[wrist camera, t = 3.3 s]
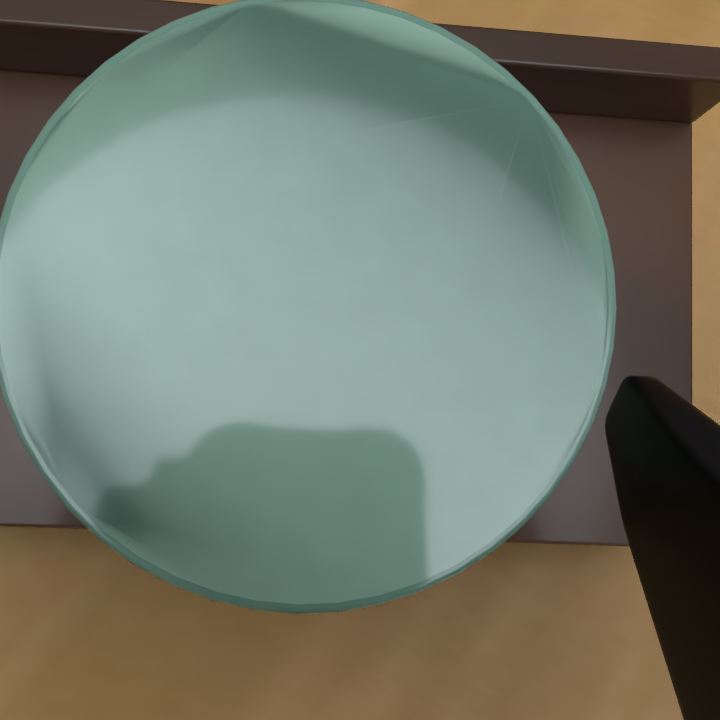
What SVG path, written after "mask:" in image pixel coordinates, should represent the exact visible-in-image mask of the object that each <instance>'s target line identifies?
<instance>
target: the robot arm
mask: <svg viewBox="0 0 720 720" xmlns="http://www.w3.org/2000/svg"><path fill="white" fill-rule="evenodd" d="M605 433H606V438H607V444H608V449H609V454H610V460H611V465H612V470H613V476H614V481H615V486H616V492H617V497H618V502H619V508H620V512H621V517H622V521H623V525H624V529H625V532H626V536H627V539H628V543H629V546H630V549H631V552H632V555H633V559H634V562H635V565H636V568H637V571H638V575H639V578H640V581H641V584H642V587H643V591H644V594H645V597H646V600H647V603H648V607H649V610H650V613H651V616H652V619H653V623H654V626H655V629H656V632H657V635H658V639H659V642H660V645H661V648H662V651H663V655H664V658H665V661H666V664H667V667H668V671H669V674H670V677H671V680H672V683H673V687H674V690H675V693H676V696H677V699H678V703H679V706H680V709H681V712H682V715H683V719H684V720H720V425H718V424H717V423H716V422H714V421H713V420H712V419H710V418H709V417H708V416H706V415H705V414H704V413H703V412H701V411H700V410H699V409H697V408H696V407H695V406H693V405H692V404H691V403H689V402H688V401H687V400H685V399H684V398H683V397H682V396H680V395H679V394H678V393H676V392H675V391H674V390H672V389H671V388H670V387H668V386H667V385H666V384H664V383H663V382H662V381H661V380H659V379H658V378H655V377H651V376H634V375H631V376H627V377H626V378H624V379H623V381H622V382H621V384H620V386H619V388H618V391H617V393H616V395H615V397H614V400H613V402H612V404H611V406H610V408H609V411H608V413H607V416H606V420H605Z"/></svg>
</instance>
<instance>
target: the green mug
mask: <svg viewBox="0 0 720 720" xmlns="http://www.w3.org/2000/svg"><path fill="white" fill-rule="evenodd" d="M616 309H617V308H616V290H615V272H614V265H613V259H612V254H611V249H610V243H609V238H608V232H607V229H606V226H605V222H604V219H603V216H602V213H601V210H600V207H599V204H598V201H597V197H596V194H595V192H594V190H593V188H592V186H591V184H590V181H589V179H588V177H587V175H586V173H585V171H584V168H583V166H582V164H581V162H580V160H579V158H578V156H577V155H576V153H575V152H574V150H573V149H572V147H571V145H570V144H569V142H568V141H567V139H566V137H565V136H564V134H563V133H562V131H561V129H560V128H559V126H558V125H557V124H556V123H555V121H554V120H553V119H552V118H551V116H550V115H549V114H548V113H547V111H546V110H545V109H544V108H543V107H542V105H541V104H540V103H539V102H538V100H537V99H536V98H535V97H534V96H533V95H532V94H531V93H530V92H529V91H528V90H527V89H526V88H525V87H524V86H523V85H522V84H521V83H520V82H519V81H518V80H517V79H516V78H514V77H513V76H512V75H511V74H510V73H509V72H508V71H507V70H506V69H505V68H503V67H502V66H501V65H499V64H498V63H497V62H495V61H494V60H493V59H491V58H490V57H489V56H487V55H486V54H485V53H483V52H482V51H481V50H479V49H478V48H477V47H475V46H474V45H472V44H470V43H468V42H467V41H465V40H463V39H461V38H460V37H458V36H456V35H454V34H453V33H451V32H449V31H447V30H445V29H444V28H442V27H440V26H438V25H435V24H433V23H430V22H428V21H426V20H423V19H421V18H418V17H416V16H414V15H411V14H409V13H406V12H404V11H400V10H396V9H393V8H389V7H386V6H382V5H378V4H375V3H371V2H368V1H362V0H240V1H236V2H231V3H227V4H223V5H218V6H214V7H210V8H207V9H204V10H202V11H199V12H196V13H193V14H191V15H188V16H185V17H182V18H180V19H177V20H174V21H172V22H170V23H168V24H166V25H164V26H162V27H160V28H158V29H156V30H155V31H153V32H151V33H149V34H147V35H145V36H143V37H141V38H139V39H137V40H136V41H134V42H133V43H131V44H130V45H128V46H127V47H126V48H124V49H123V50H121V51H120V52H118V53H117V54H116V55H114V56H113V57H111V58H110V59H108V60H107V61H105V62H104V63H103V64H102V65H101V66H100V67H99V68H97V69H96V70H95V71H94V72H93V73H92V74H91V75H90V76H89V77H87V78H86V79H85V80H84V81H83V82H82V83H81V84H80V85H79V86H78V87H76V88H75V89H74V90H73V92H72V93H71V94H70V95H69V96H68V97H67V99H66V100H65V101H64V102H63V103H62V105H61V106H60V107H59V108H58V109H57V110H56V112H55V113H54V114H53V115H52V116H51V118H50V119H49V120H48V121H47V123H46V124H45V126H44V127H43V129H42V131H41V132H40V134H39V135H38V137H37V138H36V140H35V142H34V143H33V145H32V146H31V148H30V149H29V151H28V152H27V154H26V156H25V158H24V160H23V162H22V164H21V167H20V169H19V171H18V173H17V175H16V177H15V179H14V182H13V184H12V186H11V188H10V190H9V192H8V195H7V199H6V202H5V205H4V208H3V212H2V215H1V218H0V386H1V390H2V394H3V398H4V401H5V403H6V405H7V408H8V410H9V413H10V415H11V418H12V420H13V423H14V425H15V427H16V430H17V432H18V435H19V437H20V439H21V441H22V443H23V444H24V446H25V448H26V450H27V451H28V453H29V455H30V457H31V458H32V460H33V462H34V463H35V465H36V467H37V469H38V470H39V472H40V474H41V475H42V477H43V478H44V479H45V481H46V482H47V483H48V484H49V486H50V487H51V488H52V489H53V491H54V492H55V493H56V495H57V496H58V497H59V498H60V500H61V501H62V502H63V504H64V505H65V506H66V507H67V509H68V510H69V511H70V512H71V513H72V514H73V515H74V516H75V517H76V518H78V519H79V520H80V521H81V522H82V523H83V524H84V525H85V526H86V527H87V528H88V529H89V530H90V531H91V532H92V533H93V534H94V535H95V536H96V537H97V538H98V539H99V540H101V541H102V542H103V543H105V544H106V545H107V546H109V547H110V548H112V549H113V550H114V551H116V552H117V553H118V554H120V555H121V556H122V557H124V558H125V559H127V560H128V561H129V562H131V563H132V564H133V565H135V566H137V567H139V568H141V569H142V570H144V571H146V572H148V573H150V574H152V575H154V576H155V577H157V578H159V579H161V580H163V581H165V582H166V583H168V584H170V585H172V586H175V587H177V588H180V589H183V590H185V591H188V592H191V593H193V594H196V595H199V596H201V597H204V598H207V599H209V600H212V601H216V602H221V603H225V604H229V605H234V606H238V607H242V608H247V609H251V610H258V611H268V612H279V613H290V614H310V613H333V612H343V611H349V610H355V609H360V608H366V607H371V606H377V605H382V604H385V603H388V602H391V601H394V600H397V599H401V598H404V597H407V596H410V595H413V594H416V593H419V592H422V591H424V590H426V589H428V588H430V587H432V586H435V585H437V584H439V583H441V582H443V581H445V580H447V579H449V578H451V577H453V576H456V575H458V574H460V573H461V572H463V571H464V570H466V569H467V568H469V567H470V566H472V565H473V564H475V563H476V562H478V561H479V560H481V559H483V558H484V557H486V556H487V555H489V554H490V553H492V552H493V551H495V550H496V549H497V548H498V547H499V546H500V545H501V544H503V543H504V542H505V541H506V540H507V539H508V538H510V537H511V536H512V535H513V534H514V533H515V532H517V531H518V530H519V529H520V528H521V527H522V526H524V525H525V524H526V523H527V521H528V520H529V519H530V518H531V517H532V516H533V515H534V514H535V512H536V511H537V510H538V509H539V508H540V507H541V506H542V505H543V503H544V502H545V501H546V500H547V499H548V498H549V497H550V496H551V494H552V493H553V492H554V490H555V489H556V487H557V486H558V484H559V483H560V481H561V480H562V478H563V477H564V475H565V474H566V472H567V471H568V470H569V468H570V467H571V465H572V464H573V462H574V461H575V459H576V457H577V455H578V453H579V451H580V449H581V447H582V445H583V443H584V441H585V439H586V437H587V435H588V433H589V431H590V429H591V427H592V425H593V422H594V419H595V416H596V413H597V410H598V407H599V404H600V402H601V399H602V396H603V393H604V390H605V387H606V382H607V378H608V373H609V368H610V363H611V358H612V353H613V348H614V336H615V322H616Z"/></svg>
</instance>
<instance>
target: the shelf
mask: <svg viewBox="0 0 720 720" xmlns="http://www.w3.org/2000/svg"><path fill="white" fill-rule="evenodd" d="M214 6H218V5H211V4H200V3H188V2H176V1H164V0H0V218H1V215H2V212H3V208H4V205H5V202H6V199H7V195H8V192H9V190H10V188H11V186H12V184H13V182H14V179H15V177H16V175H17V173H18V171H19V169H20V167H21V164H22V162H23V160H24V158H25V156H26V154H27V152H28V151H29V149H30V148H31V146H32V145H33V143H34V142H35V140H36V138H37V137H38V135H39V134H40V132H41V131H42V129H43V127H44V126H45V124H46V123H47V121H48V120H49V119H50V118H51V116H52V115H53V114H54V113H55V112H56V110H57V109H58V108H59V107H60V106H61V105H62V103H63V102H64V101H65V100H66V99H67V97H68V96H69V95H70V94H71V93H72V92H73V90H74V89H75V88H76V87H78V86H79V85H80V84H81V83H82V82H83V81H84V80H85V79H86V78H87V77H89V76H90V75H91V74H92V73H93V72H94V71H95V70H96V69H97V68H99V67H100V66H101V65H102V64H103V63H104V62H105V61H107V60H108V59H110V58H111V57H113V56H114V55H116V54H117V53H118V52H120V51H121V50H123V49H124V48H126V47H127V46H128V45H130V44H131V43H133V42H134V41H136V40H137V39H139V38H141V37H143V36H145V35H147V34H149V33H151V32H153V31H155V30H156V29H158V28H160V27H162V26H164V25H166V24H168V23H170V22H172V21H174V20H177V19H180V18H182V17H185V16H188V15H191V14H193V13H196V12H199V11H202V10H204V9H207V8H210V7H214ZM433 24H435V25H438V26H440V27H442V28H444V29H445V30H447V31H449V32H451V33H453V34H454V35H456V36H458V37H460V38H461V39H463V40H465V41H467V42H468V43H470V44H472V45H474V46H475V47H477V48H478V49H479V50H481V51H482V52H483V53H485V54H486V55H487V56H489V57H490V58H491V59H493V60H494V61H495V62H497V63H498V64H499V65H501V66H502V67H503V68H505V69H506V70H507V71H508V72H509V73H510V74H511V75H512V76H513V77H514V78H516V79H517V80H518V81H519V82H520V83H521V84H522V85H523V86H524V87H525V88H526V89H527V90H528V91H529V92H530V93H531V94H532V95H533V96H534V97H535V98H536V99H537V100H538V102H539V103H540V104H541V105H542V107H543V108H544V109H545V110H546V111H547V113H548V114H549V115H550V116H551V118H552V119H553V120H554V121H555V123H556V124H557V125H558V126H559V128H560V129H561V131H562V133H563V134H564V136H565V137H566V139H567V141H568V142H569V144H570V145H571V147H572V149H573V150H574V152H575V153H576V155H577V156H578V158H579V160H580V162H581V164H582V166H583V168H584V171H585V173H586V175H587V177H588V179H589V181H590V184H591V186H592V188H593V190H594V192H595V194H596V197H597V201H598V204H599V207H600V210H601V213H602V216H603V219H604V222H605V226H606V229H607V232H608V238H609V243H610V249H611V254H612V259H613V265H614V272H615V290H616V308H617V309H616V322H615V336H614V348H613V353H612V358H611V363H610V368H609V373H608V378H607V382H606V387H605V390H604V393H603V396H602V399H601V402H600V404H599V407H598V410H597V413H596V416H595V419H594V422H593V425H592V427H591V429H590V431H589V433H588V435H587V437H586V439H585V441H584V443H583V445H582V447H581V449H580V451H579V453H578V455H577V457H576V459H575V461H574V462H573V464H572V465H571V467H570V468H569V470H568V471H567V472H566V474H565V475H564V477H563V478H562V480H561V481H560V483H559V484H558V486H557V487H556V489H555V490H554V492H553V493H552V494H551V496H550V497H549V498H548V499H547V500H546V501H545V502H544V503H543V505H542V506H541V507H540V508H539V509H538V510H537V511H536V512H535V514H534V515H533V516H532V517H531V518H530V519H529V520H528V521H527V523H526V524H525V525H524V526H522V527H521V528H520V529H519V530H518V531H517V532H515V533H514V534H513V535H512V536H511V537H510V538H508V539H507V540H506V541H505V542H504V543H536V544H567V545H598V546H629V543H628V539H627V536H626V532H625V529H624V525H623V521H622V517H621V512H620V508H619V502H618V497H617V492H616V486H615V481H614V476H613V470H612V465H611V460H610V454H609V449H608V444H607V438H606V433H605V420H606V416H607V413H608V411H609V408H610V406H611V404H612V402H613V400H614V397H615V395H616V393H617V391H618V388H619V386H620V384H621V382H622V381H623V379H624V378H626V377H627V376H631V375H634V376H651V377H655V378H658V379H659V380H661V381H662V382H663V383H664V384H666V385H667V386H668V387H670V388H671V389H672V390H674V391H675V392H676V393H678V394H679V395H680V396H682V397H683V398H684V399H685V400H687V401H688V402H689V403H691V404H692V122H694V121H695V120H697V119H698V118H699V117H701V116H702V115H703V114H704V113H706V112H707V111H708V110H710V109H711V108H712V107H713V106H715V105H716V104H717V103H719V102H720V48H719V47H707V46H695V45H683V44H671V43H660V42H648V41H636V40H624V39H612V38H601V37H589V36H577V35H565V34H553V33H542V32H530V31H518V30H506V29H494V28H483V27H471V26H459V25H447V24H436V23H433ZM0 526H5V527H36V528H67V529H88V528H87V527H86V526H85V525H84V524H83V523H82V522H81V521H80V520H79V519H78V518H76V517H75V516H74V515H73V514H72V513H71V512H70V511H69V510H68V509H67V507H66V506H65V505H64V504H63V502H62V501H61V500H60V498H59V497H58V496H57V495H56V493H55V492H54V491H53V489H52V488H51V487H50V486H49V484H48V483H47V482H46V481H45V479H44V478H43V477H42V475H41V474H40V472H39V470H38V469H37V467H36V465H35V463H34V462H33V460H32V458H31V457H30V455H29V453H28V451H27V450H26V448H25V446H24V444H23V443H22V441H21V439H20V437H19V435H18V432H17V430H16V427H15V425H14V423H13V420H12V418H11V415H10V413H9V410H8V408H7V405H6V403H5V401H4V398H3V394H2V390H1V386H0ZM629 547H630V546H629Z"/></svg>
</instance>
